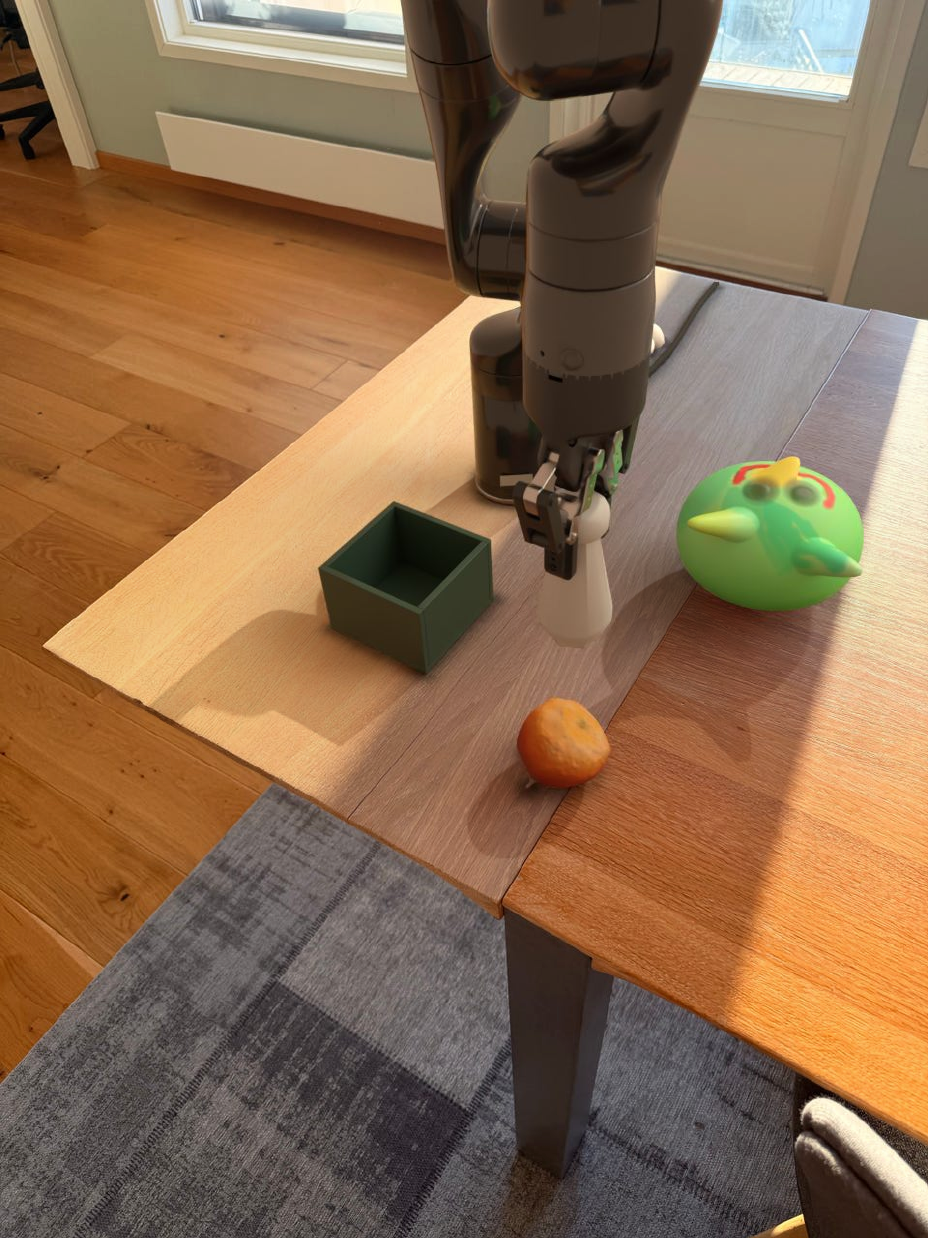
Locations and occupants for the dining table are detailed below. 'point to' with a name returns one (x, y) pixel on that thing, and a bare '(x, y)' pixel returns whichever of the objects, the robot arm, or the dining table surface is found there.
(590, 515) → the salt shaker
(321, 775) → the dining table surface
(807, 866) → the dining table surface
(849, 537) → the toy bird
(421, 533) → the bin
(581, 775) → the fruit
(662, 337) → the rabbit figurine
